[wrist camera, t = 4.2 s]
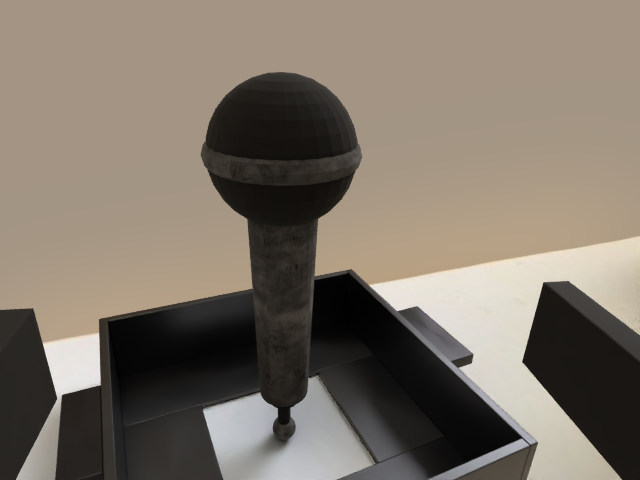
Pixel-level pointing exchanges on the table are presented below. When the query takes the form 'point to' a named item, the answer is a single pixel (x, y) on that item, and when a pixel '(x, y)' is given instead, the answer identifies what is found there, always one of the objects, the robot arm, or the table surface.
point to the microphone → (282, 209)
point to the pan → (325, 359)
